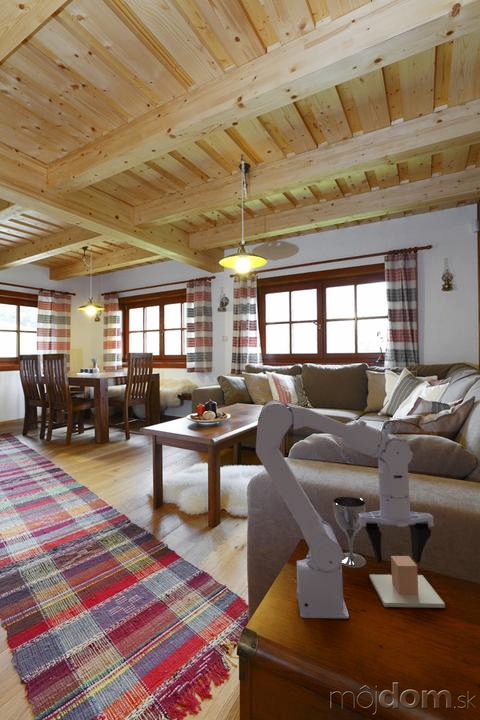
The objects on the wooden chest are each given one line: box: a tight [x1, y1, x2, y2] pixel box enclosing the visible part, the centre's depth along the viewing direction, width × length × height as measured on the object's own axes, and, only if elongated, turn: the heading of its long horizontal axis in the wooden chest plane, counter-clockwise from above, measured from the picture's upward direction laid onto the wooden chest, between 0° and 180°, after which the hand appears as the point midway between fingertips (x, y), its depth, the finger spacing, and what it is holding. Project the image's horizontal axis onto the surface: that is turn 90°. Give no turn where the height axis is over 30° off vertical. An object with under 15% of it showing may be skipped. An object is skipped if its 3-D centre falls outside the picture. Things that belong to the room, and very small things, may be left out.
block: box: [390, 555, 419, 595], centre depth 76 cm, size 4×4×6 cm
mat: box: [369, 574, 446, 609], centre depth 76 cm, size 12×10×1 cm
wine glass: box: [332, 495, 367, 569], centre depth 89 cm, size 8×8×15 cm
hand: (397, 560), depth 71 cm, fingers open, 7 cm apart
